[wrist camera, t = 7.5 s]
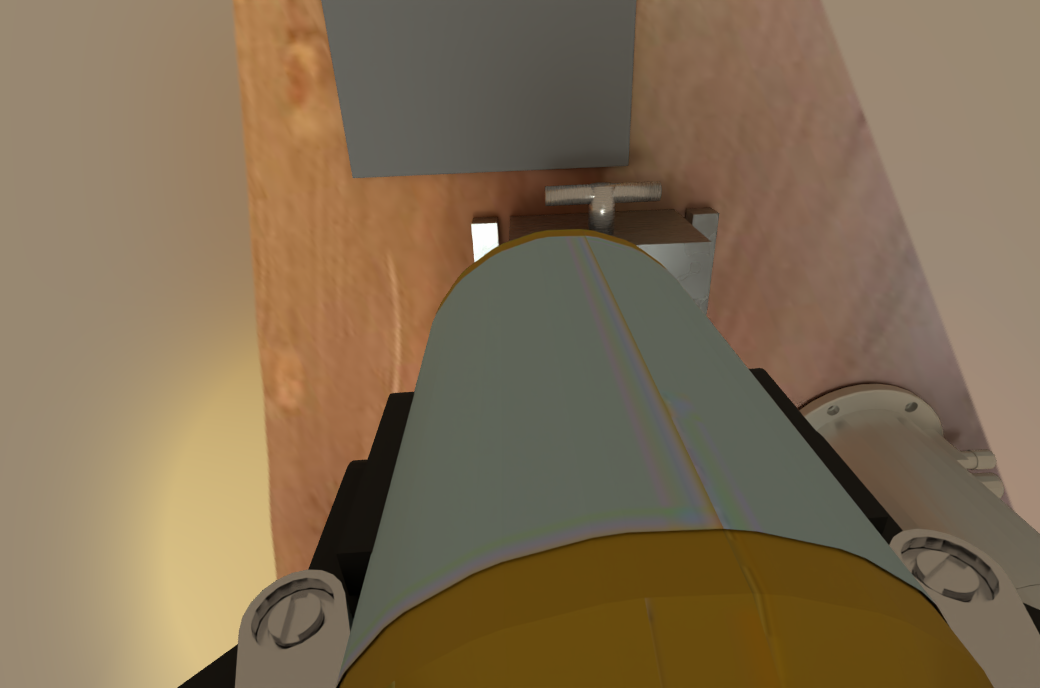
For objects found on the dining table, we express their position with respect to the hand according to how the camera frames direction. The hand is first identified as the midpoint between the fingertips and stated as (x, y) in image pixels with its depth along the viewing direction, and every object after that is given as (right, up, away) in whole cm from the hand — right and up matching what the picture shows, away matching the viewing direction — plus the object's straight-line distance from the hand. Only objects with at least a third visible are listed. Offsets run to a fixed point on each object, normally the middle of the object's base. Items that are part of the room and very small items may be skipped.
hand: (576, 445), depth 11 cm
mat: (-3, +18, +18) cm, 25 cm away
